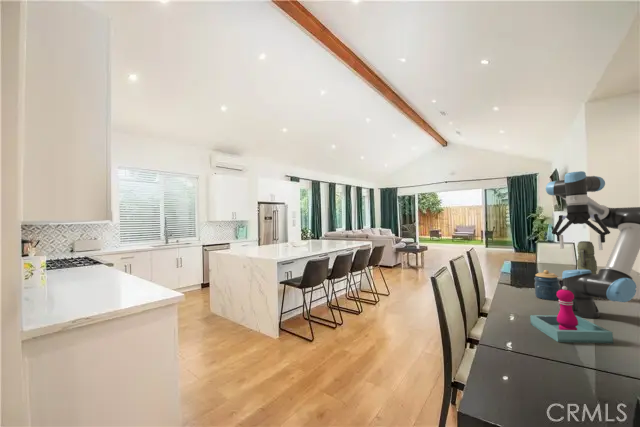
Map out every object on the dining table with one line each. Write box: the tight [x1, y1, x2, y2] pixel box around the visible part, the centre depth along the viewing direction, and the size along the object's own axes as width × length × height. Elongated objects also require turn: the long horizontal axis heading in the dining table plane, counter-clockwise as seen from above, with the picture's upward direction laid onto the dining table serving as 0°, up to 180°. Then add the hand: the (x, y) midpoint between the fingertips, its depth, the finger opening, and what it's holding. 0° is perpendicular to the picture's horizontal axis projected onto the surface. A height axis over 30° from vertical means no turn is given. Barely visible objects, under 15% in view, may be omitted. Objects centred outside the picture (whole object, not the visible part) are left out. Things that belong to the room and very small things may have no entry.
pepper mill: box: [556, 285, 578, 330], centre depth 125 cm, size 7×7×20 cm
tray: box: [529, 314, 614, 344], centre depth 125 cm, size 20×20×4 cm
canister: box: [533, 269, 561, 301], centre depth 177 cm, size 13×13×18 cm
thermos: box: [576, 240, 600, 301], centre depth 173 cm, size 9×12×35 cm
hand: (580, 249), depth 131 cm, fingers open, 13 cm apart
